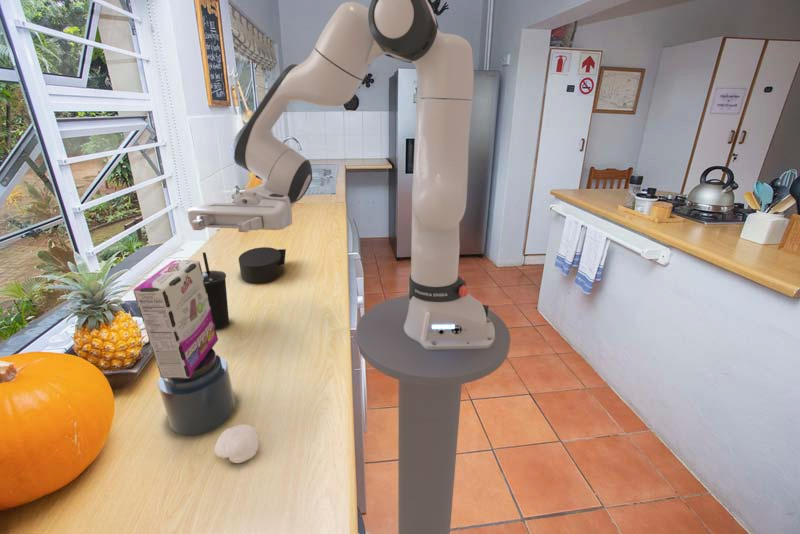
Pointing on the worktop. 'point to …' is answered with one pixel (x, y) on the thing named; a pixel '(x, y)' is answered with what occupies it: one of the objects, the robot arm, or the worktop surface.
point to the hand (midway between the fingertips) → (218, 227)
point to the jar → (199, 397)
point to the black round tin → (261, 265)
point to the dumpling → (237, 443)
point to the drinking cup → (216, 295)
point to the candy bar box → (177, 318)
